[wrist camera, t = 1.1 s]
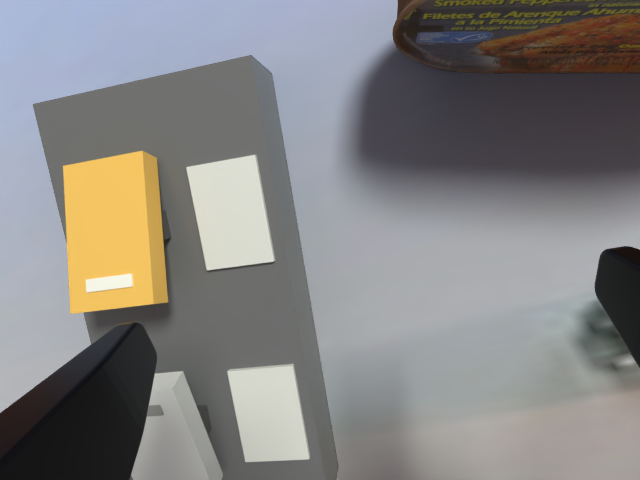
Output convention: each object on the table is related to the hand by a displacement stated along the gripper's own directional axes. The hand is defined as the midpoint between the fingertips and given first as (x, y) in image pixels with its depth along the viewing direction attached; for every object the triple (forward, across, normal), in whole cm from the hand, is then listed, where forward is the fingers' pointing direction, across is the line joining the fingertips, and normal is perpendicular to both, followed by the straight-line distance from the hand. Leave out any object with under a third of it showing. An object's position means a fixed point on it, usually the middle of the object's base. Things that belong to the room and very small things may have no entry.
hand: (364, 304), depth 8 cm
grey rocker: (+5, +10, +10) cm, 15 cm away
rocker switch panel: (+11, +8, +7) cm, 15 cm away
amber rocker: (+8, +9, +1) cm, 13 cm away
